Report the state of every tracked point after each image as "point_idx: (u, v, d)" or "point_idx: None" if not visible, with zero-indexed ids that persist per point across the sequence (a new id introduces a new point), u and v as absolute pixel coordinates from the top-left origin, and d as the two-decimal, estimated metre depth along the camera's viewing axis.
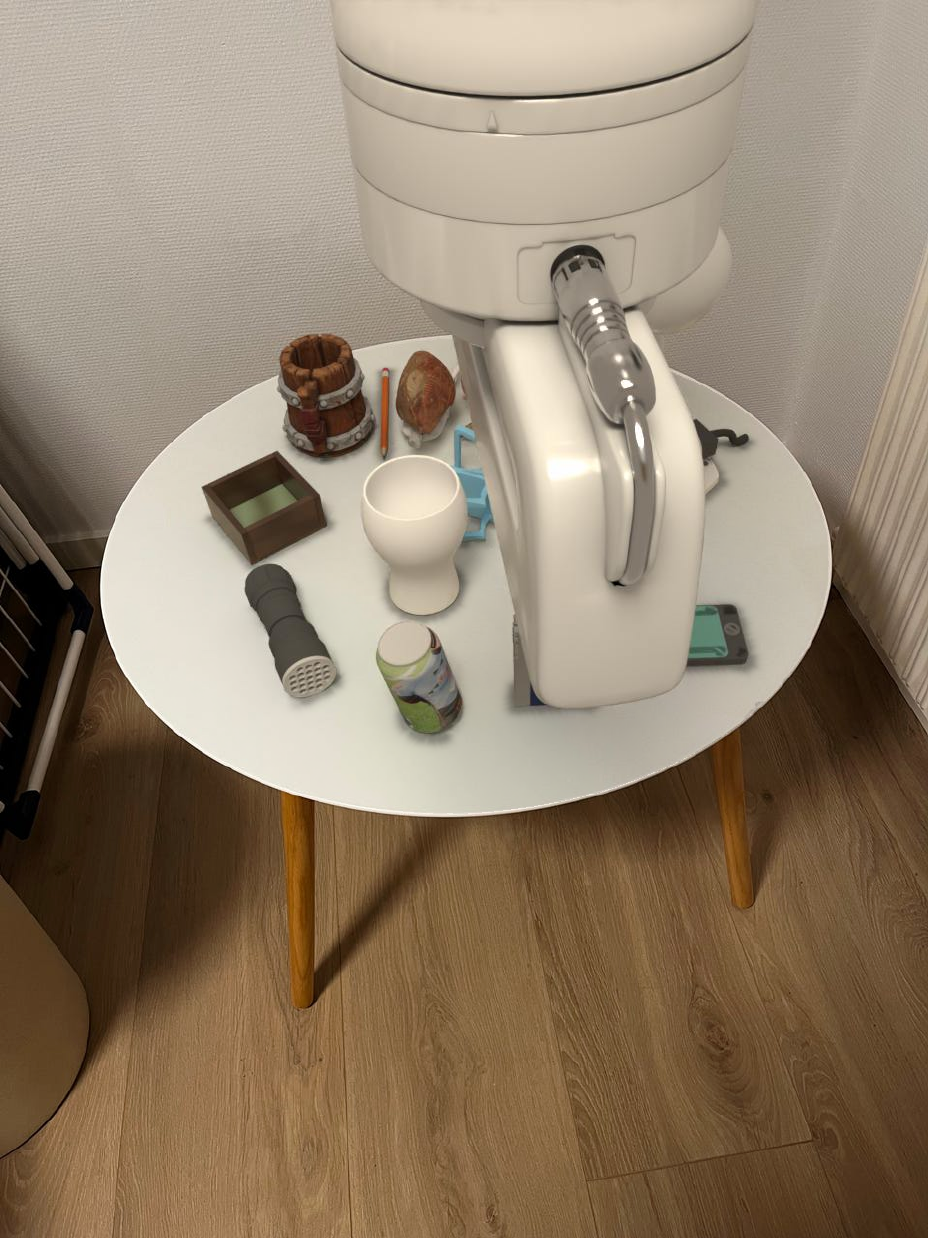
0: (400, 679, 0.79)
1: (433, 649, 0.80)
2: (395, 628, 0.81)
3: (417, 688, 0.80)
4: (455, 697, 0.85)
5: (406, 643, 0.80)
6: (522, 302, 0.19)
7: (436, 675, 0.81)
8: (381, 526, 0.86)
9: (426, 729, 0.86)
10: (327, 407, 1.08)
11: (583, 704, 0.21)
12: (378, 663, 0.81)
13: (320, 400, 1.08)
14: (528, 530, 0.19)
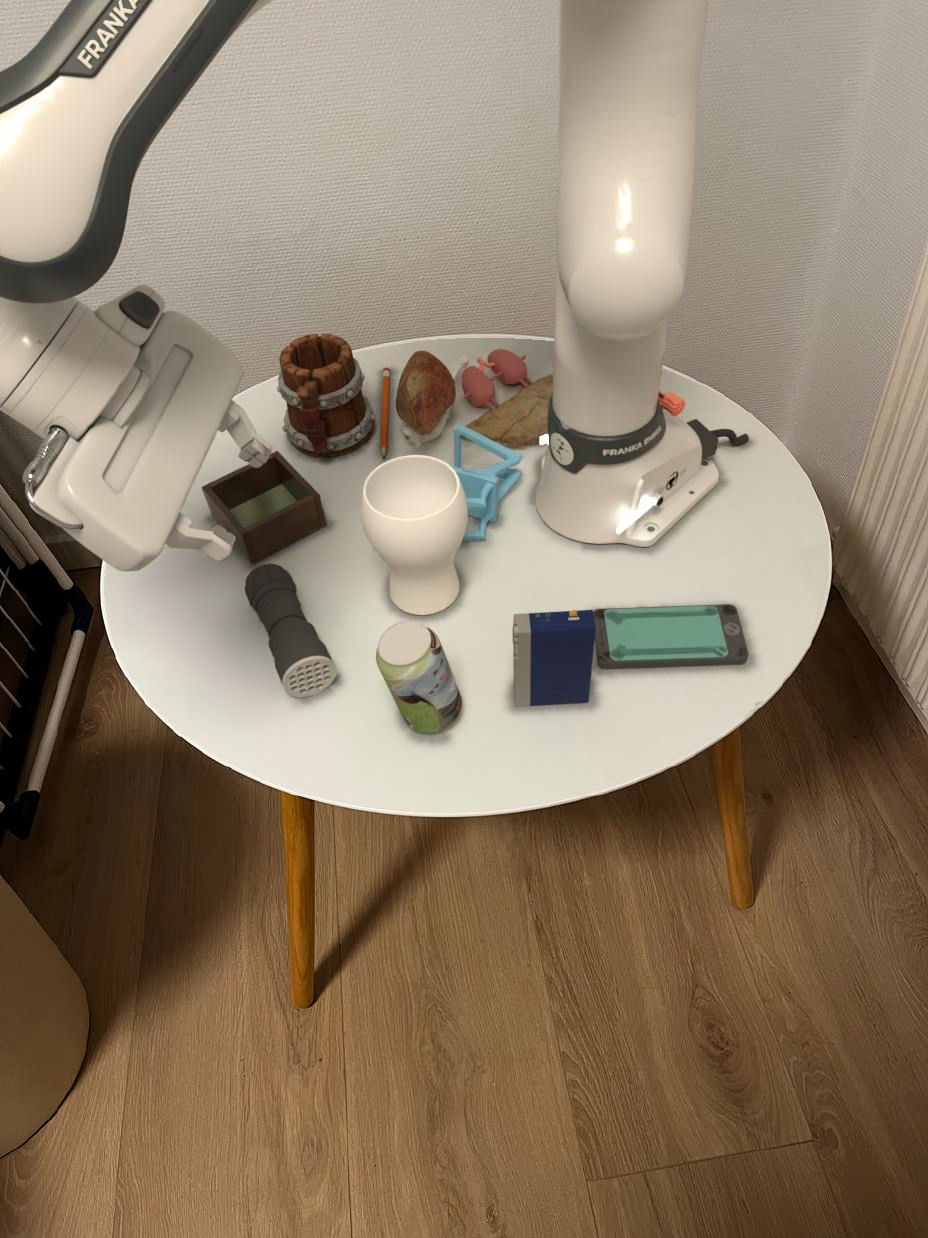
0: (400, 679, 0.79)
1: (433, 649, 0.80)
2: (395, 628, 0.81)
3: (417, 688, 0.80)
4: (455, 697, 0.85)
5: (406, 643, 0.80)
6: None
7: (436, 675, 0.81)
8: (381, 526, 0.86)
9: (426, 729, 0.86)
10: (327, 407, 1.08)
11: (126, 568, 0.59)
12: (378, 663, 0.81)
13: (320, 400, 1.08)
14: None
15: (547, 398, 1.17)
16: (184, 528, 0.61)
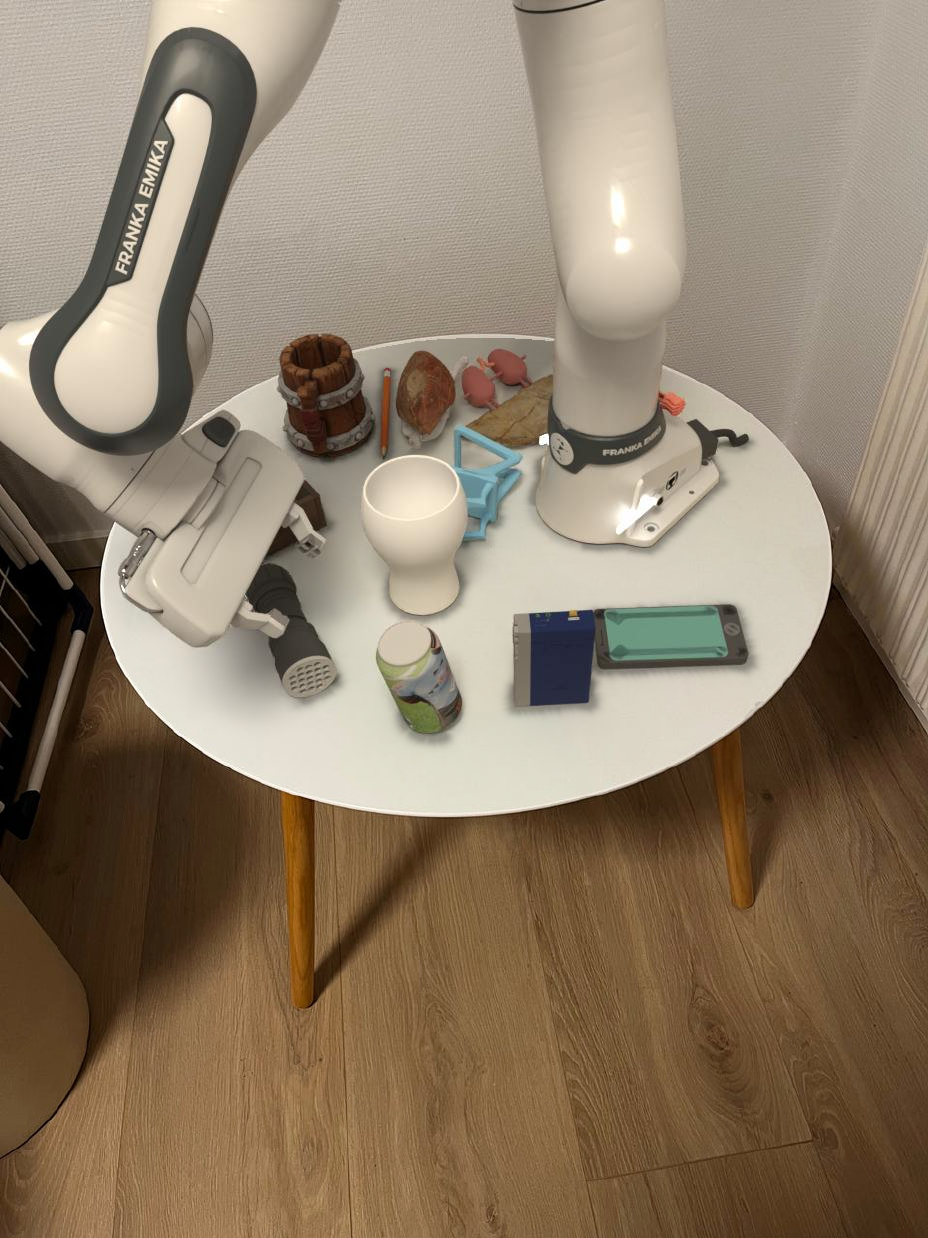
0: (400, 679, 0.79)
1: (433, 649, 0.80)
2: (395, 628, 0.81)
3: (417, 688, 0.80)
4: (455, 697, 0.85)
5: (406, 643, 0.80)
6: None
7: (436, 675, 0.81)
8: (381, 526, 0.86)
9: (426, 729, 0.86)
10: (327, 407, 1.08)
11: (197, 645, 0.71)
12: (378, 663, 0.81)
13: (320, 400, 1.08)
14: None
15: (547, 398, 1.17)
16: (246, 612, 0.73)
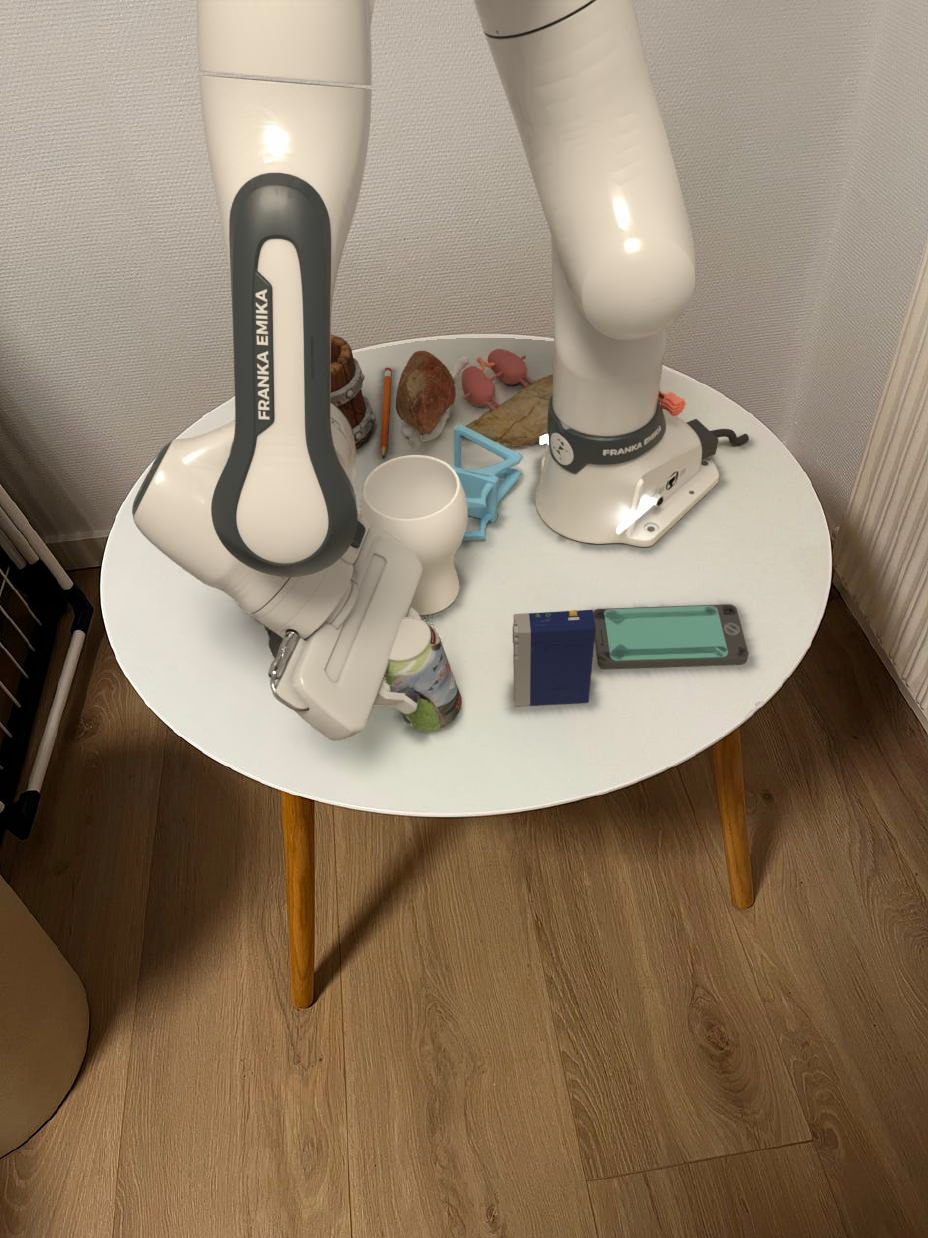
0: (400, 674, 0.79)
1: (433, 645, 0.80)
2: None
3: (416, 684, 0.81)
4: (455, 695, 0.85)
5: (405, 639, 0.80)
6: None
7: (435, 671, 0.81)
8: (381, 526, 0.86)
9: (426, 727, 0.86)
10: None
11: (337, 739, 0.76)
12: None
13: None
14: None
15: (547, 398, 1.17)
16: (384, 693, 0.78)
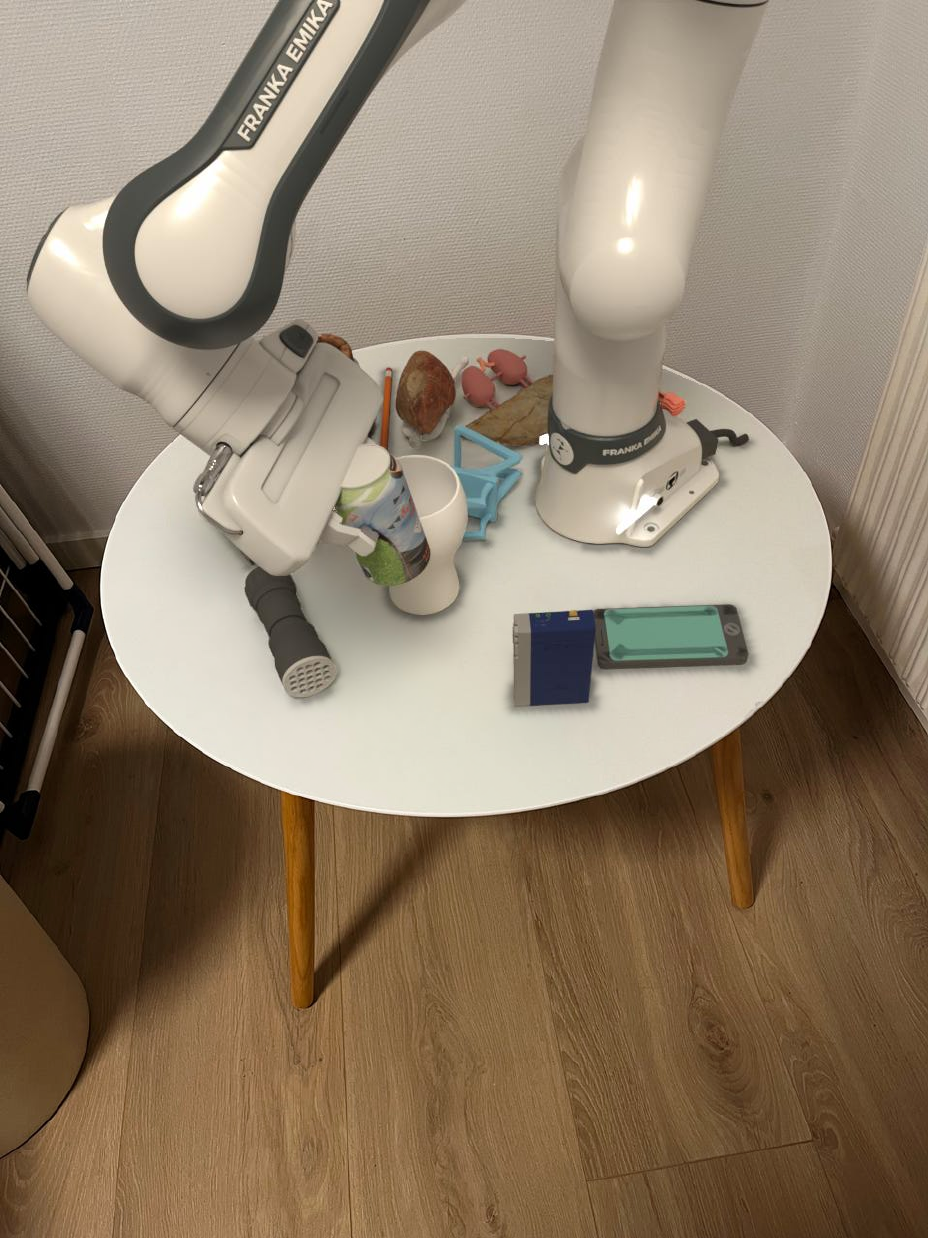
0: (354, 506, 0.68)
1: (392, 472, 0.69)
2: None
3: (374, 519, 0.69)
4: (421, 541, 0.74)
5: (361, 466, 0.69)
6: None
7: (396, 505, 0.69)
8: None
9: (388, 579, 0.74)
10: None
11: (278, 572, 0.64)
12: None
13: None
14: None
15: (547, 398, 1.17)
16: (336, 525, 0.67)
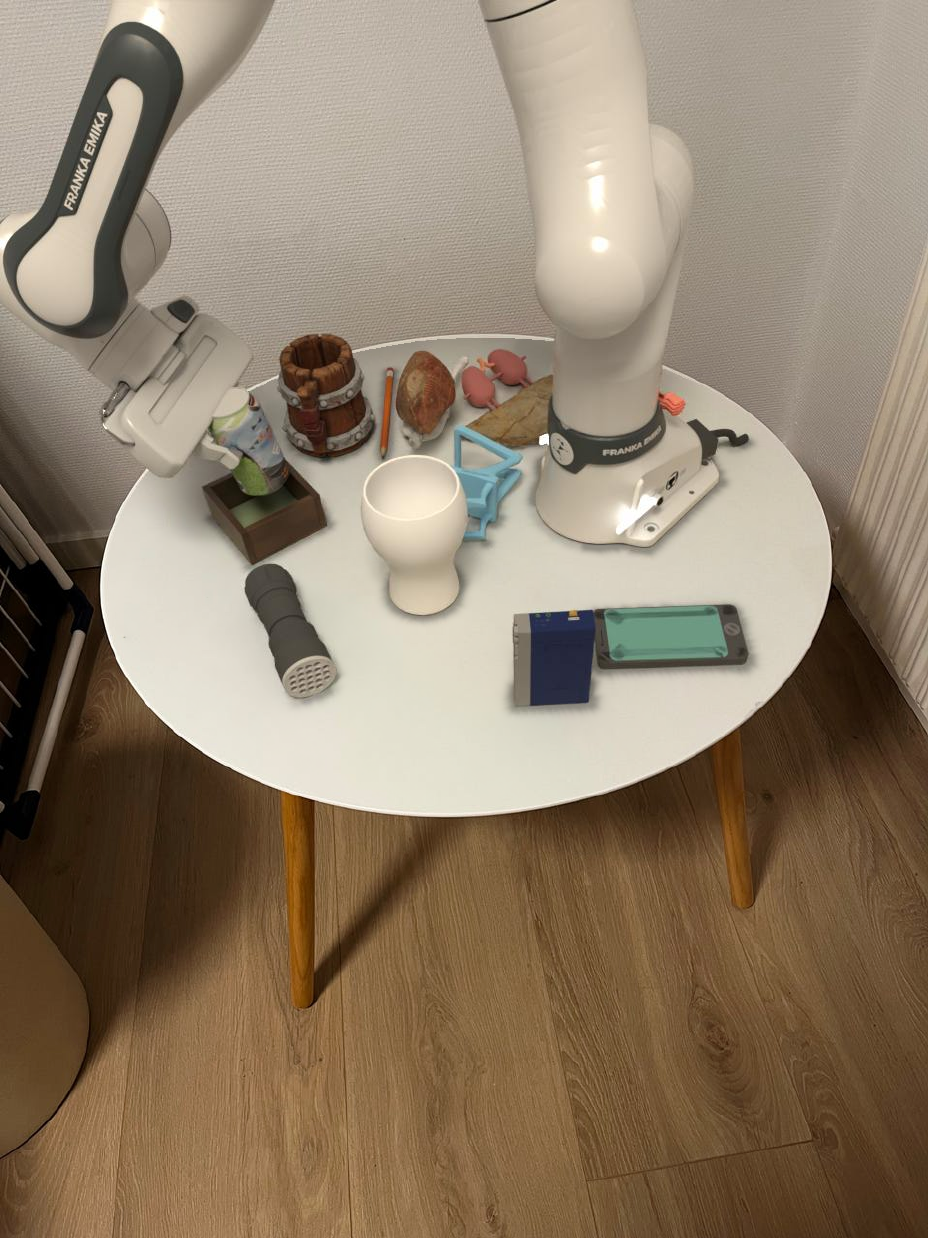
0: (222, 430, 0.94)
1: (250, 406, 0.94)
2: None
3: (238, 441, 0.95)
4: (279, 461, 1.00)
5: (228, 402, 0.95)
6: None
7: (254, 431, 0.95)
8: (381, 526, 0.86)
9: (255, 490, 1.00)
10: (327, 407, 1.08)
11: (162, 474, 0.90)
12: None
13: (320, 400, 1.08)
14: None
15: (547, 398, 1.17)
16: (207, 443, 0.93)
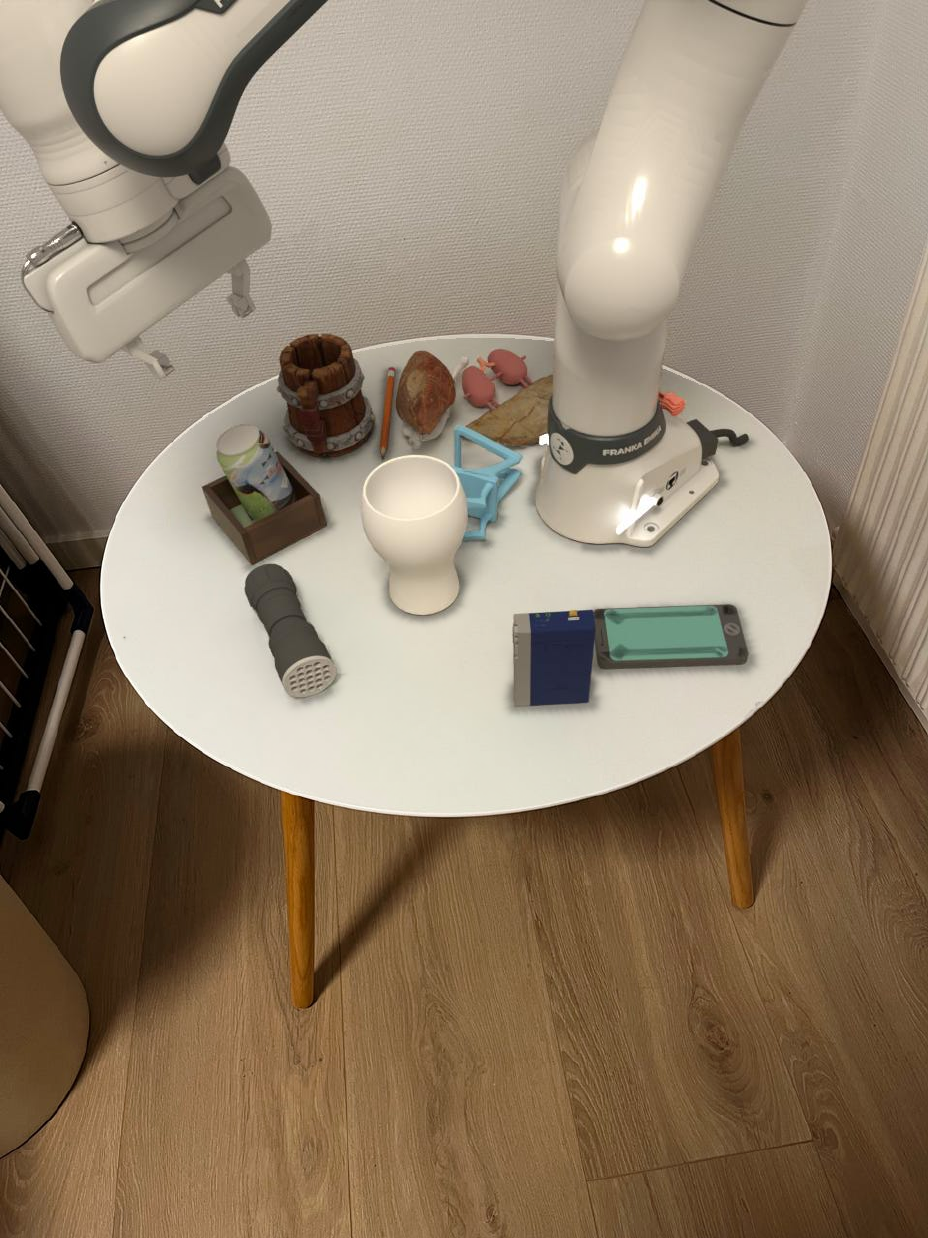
0: (233, 467, 0.98)
1: (261, 444, 0.98)
2: (232, 430, 0.99)
3: (249, 477, 0.99)
4: (288, 494, 1.04)
5: (239, 440, 0.98)
6: None
7: (264, 467, 0.99)
8: (381, 526, 0.86)
9: None
10: (327, 407, 1.08)
11: (73, 353, 0.73)
12: (217, 457, 0.99)
13: (320, 400, 1.08)
14: None
15: (547, 398, 1.17)
16: (134, 349, 0.75)
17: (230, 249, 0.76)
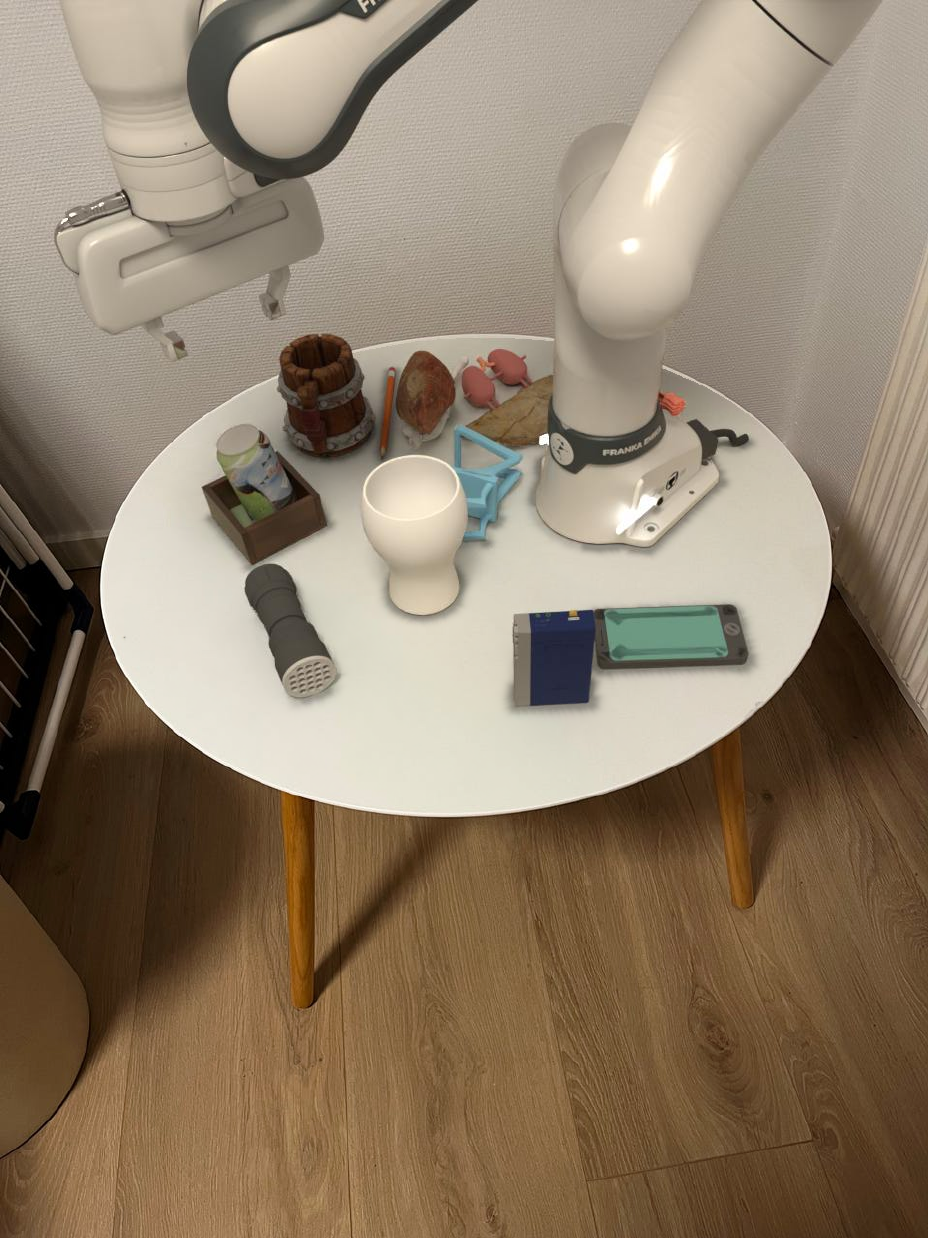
0: (233, 467, 0.98)
1: (261, 444, 0.98)
2: (232, 430, 0.99)
3: (249, 477, 0.99)
4: (288, 494, 1.04)
5: (239, 440, 0.98)
6: None
7: (264, 467, 0.99)
8: (381, 526, 0.86)
9: None
10: (327, 407, 1.08)
11: (88, 316, 0.70)
12: (217, 457, 0.99)
13: (320, 400, 1.08)
14: None
15: (547, 398, 1.17)
16: (152, 327, 0.72)
17: (276, 253, 0.74)
